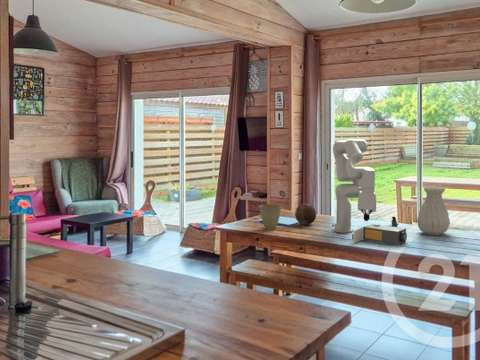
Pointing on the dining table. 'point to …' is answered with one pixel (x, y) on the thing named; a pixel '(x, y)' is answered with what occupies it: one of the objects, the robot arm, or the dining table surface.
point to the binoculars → (394, 222)
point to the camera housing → (384, 234)
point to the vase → (433, 213)
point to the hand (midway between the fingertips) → (366, 220)
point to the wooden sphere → (305, 214)
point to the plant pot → (270, 215)
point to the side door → (357, 235)
